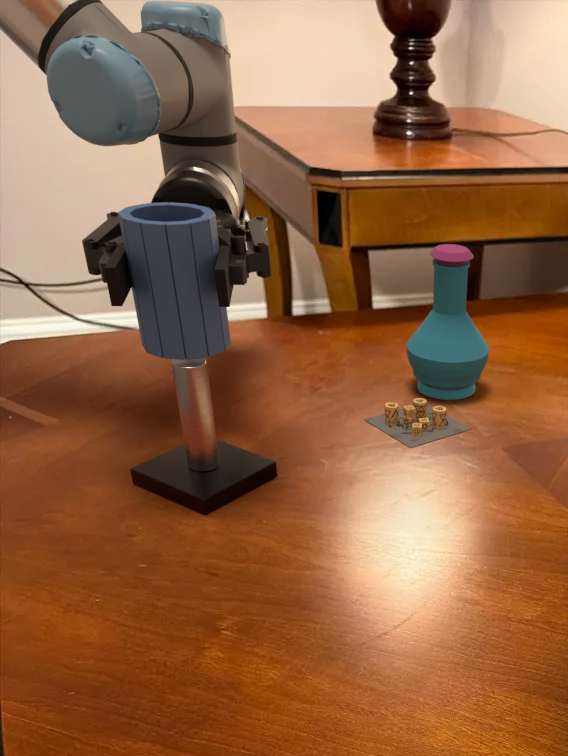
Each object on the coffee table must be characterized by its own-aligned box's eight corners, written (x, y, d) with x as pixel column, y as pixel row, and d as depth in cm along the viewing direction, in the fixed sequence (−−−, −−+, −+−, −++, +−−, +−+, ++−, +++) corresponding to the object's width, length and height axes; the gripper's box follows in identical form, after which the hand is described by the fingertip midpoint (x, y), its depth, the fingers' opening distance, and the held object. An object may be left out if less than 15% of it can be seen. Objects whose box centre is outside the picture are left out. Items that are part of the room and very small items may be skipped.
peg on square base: (132, 483, 77) (107, 363, 71) (207, 448, 84) (190, 334, 77) (205, 515, 74) (186, 391, 67) (277, 476, 80) (267, 359, 73)
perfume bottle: (438, 411, 94) (443, 265, 85) (390, 382, 99) (389, 242, 90) (502, 393, 99) (514, 254, 89) (453, 367, 104) (459, 233, 95)
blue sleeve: (125, 346, 70) (99, 212, 64) (188, 324, 75) (169, 198, 69) (185, 366, 68) (164, 228, 62) (247, 343, 72) (233, 213, 66)
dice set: (381, 421, 91) (381, 404, 90) (420, 410, 94) (420, 393, 92) (411, 439, 88) (411, 421, 87) (449, 427, 91) (450, 410, 90)
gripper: (306, 257, 85) (308, 338, 68) (93, 253, 82) (37, 338, 65) (301, 172, 81) (302, 236, 63) (75, 165, 78) (9, 230, 60)
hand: (168, 287), depth 64 cm, fingers closed on blue sleeve, 7 cm apart
